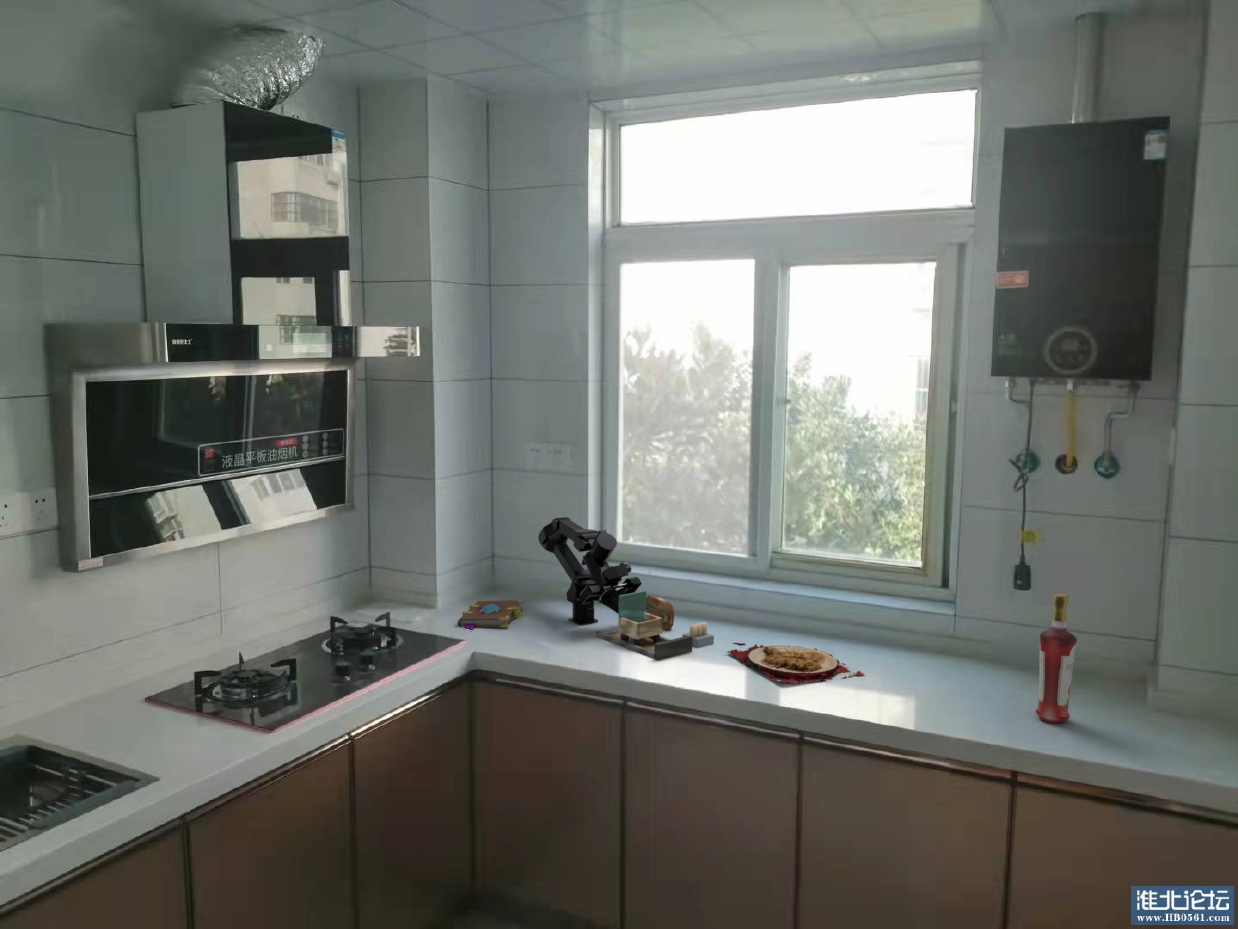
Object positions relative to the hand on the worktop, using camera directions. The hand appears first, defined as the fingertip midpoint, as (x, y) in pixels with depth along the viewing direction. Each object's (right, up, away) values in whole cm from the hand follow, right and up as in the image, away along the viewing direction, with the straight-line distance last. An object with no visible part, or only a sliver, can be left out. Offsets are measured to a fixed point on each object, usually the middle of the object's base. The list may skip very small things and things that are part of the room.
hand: (624, 615), depth 262 cm
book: (-39, -5, +17) cm, 43 cm away
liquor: (+94, -15, -52) cm, 109 cm away
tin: (+10, -6, +14) cm, 18 cm away
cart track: (+5, -7, -5) cm, 10 cm away
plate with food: (+44, -10, -18) cm, 48 cm away
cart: (+4, -7, -5) cm, 9 cm away
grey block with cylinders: (+20, -7, -4) cm, 22 cm away
